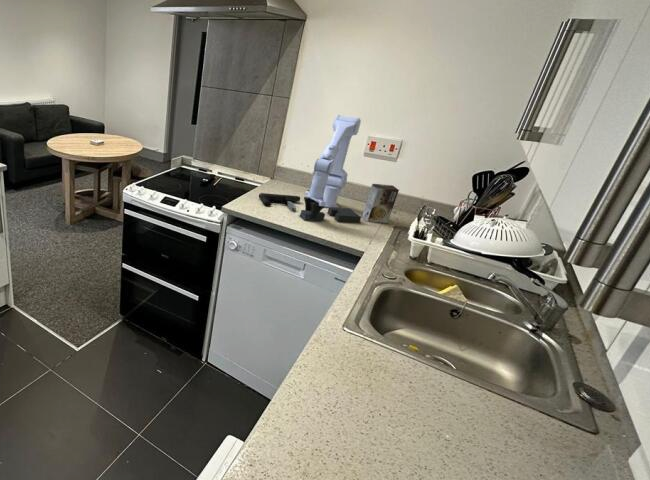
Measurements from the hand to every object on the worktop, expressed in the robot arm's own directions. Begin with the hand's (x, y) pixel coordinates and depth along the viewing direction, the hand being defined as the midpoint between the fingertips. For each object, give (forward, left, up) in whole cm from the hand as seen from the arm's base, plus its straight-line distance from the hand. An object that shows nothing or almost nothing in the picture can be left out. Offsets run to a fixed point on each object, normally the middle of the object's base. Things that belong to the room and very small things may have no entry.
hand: (310, 215), depth 173 cm
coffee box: (-3, +32, -2) cm, 32 cm away
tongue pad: (0, +1, -1) cm, 2 cm away
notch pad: (-3, +17, -1) cm, 17 cm away
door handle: (-16, -7, -2) cm, 18 cm away
